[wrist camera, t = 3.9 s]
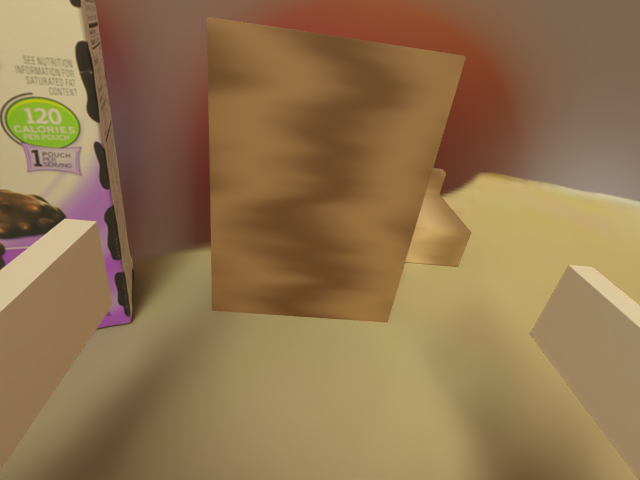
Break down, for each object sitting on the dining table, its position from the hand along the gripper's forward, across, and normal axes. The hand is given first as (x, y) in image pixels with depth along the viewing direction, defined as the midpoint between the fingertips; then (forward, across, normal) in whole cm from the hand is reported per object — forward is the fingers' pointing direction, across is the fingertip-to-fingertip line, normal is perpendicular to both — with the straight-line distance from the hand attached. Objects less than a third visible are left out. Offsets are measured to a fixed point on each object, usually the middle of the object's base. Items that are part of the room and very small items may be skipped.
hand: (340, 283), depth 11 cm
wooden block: (+9, 0, -8) cm, 12 cm away
